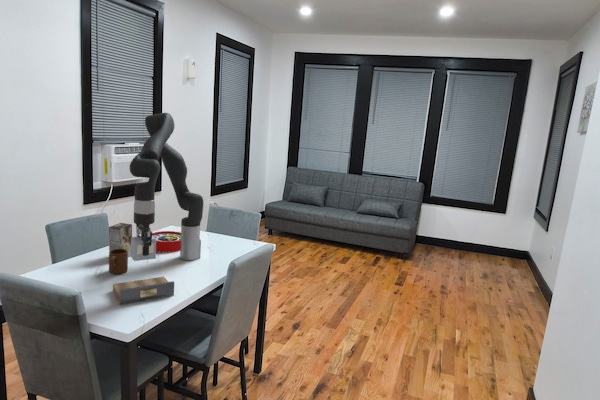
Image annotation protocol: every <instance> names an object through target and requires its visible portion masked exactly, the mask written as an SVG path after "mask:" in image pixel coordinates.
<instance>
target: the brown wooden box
mask: <svg viewBox="0 0 600 400" xmlns="http://www.w3.org/2000/svg"><path fill="white" fill-rule="evenodd" d="M112 292H113V295H114V296H115V298H116V301H117V302H118V303H119V305H120V306H122V305H127V304H132V303H140V302H144V301H149V300H155V299H159V298H160V299H161V298H165V297H167V298H168V297H173V296H174V295H175V281H174V280H173V281H168V279H166V277H165V276H164V275H163V276H158V277H150V278H144V279H137V280H131V281H123V282H118V283H112Z"/></svg>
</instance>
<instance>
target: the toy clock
mask: <svg viewBox="0 0 600 400" xmlns="http://www.w3.org/2000/svg"><path fill="white" fill-rule="evenodd" d="M152 235H153V236H154V237H155V238H156V253H175V252H180V245H181V231H175V230H173V231H172V230H171V231H170V230H168V231H167V230H165V231H164V230H163V231H161V230H160V231H155V232H152Z"/></svg>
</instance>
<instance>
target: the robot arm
mask: <svg viewBox="0 0 600 400" xmlns="http://www.w3.org/2000/svg"><path fill="white" fill-rule="evenodd" d="M144 125H145V128H146V131H147V133H148V134H149V136H150V137H149V138H148V139H147V140H146V141H145V142H144V144H143V146H142V148H141V149H140V150H141V151H139V153H138V154H136V155H135V156H134V157H133V158H132V159H131V162H130V164H129V173H130V174H131V175H132V176H133V177H136V178H144V179H145V178H147V179H148V181H146V182H141V183H137V184H136V185H135V186H134V202H133V223H134V224H135V225H136V226H135V227H136V230H135V231H136V236H135V237H141V240H142V246H143V256H147V255H149V246H151V242H152V233H153V231H152V230H151V227H150V225H152V224H154V223H155V220H156V219H155V216H156V215H155V214H156V211H155V210H156V203H155V194H156V193H155V188H156V183H157V180H158V177H159V175H160V172H161V165H160V162H159V159H161V161H162V163H163V167H164V169H165V171H166V174H167V176H168V177H169V178H168V179H169V181H170V184H171V185H172V188H173V190H174V193H175V197H176V200H177V203H178V205H179V208H181V210H183V211H186V212H188V213H187V214H188V215H187V217H186V216H185V217H183V218H182V219H181V221H180V223H181V225H180V233H181V245H180V251H179V259H181V260H184V261H195V260H198V259H201V253H202V252H201V248H202V240H201V237H200V236H201V222H202V220H203V214H204V198H203V196H202V194H199V193H195V192H191V191H190V189H189V187H188V185H187V181H186V179H187V175H188V167H187V164H186V162H185V160H184V157H183V156H182V154H181V153H180V152H179V151H177V150H176V149H174V148H173V146H171V145H169V144H168V140H169V139H170V137H171V136H172V135H173V133H174V130H175V120H174V119H173V116H172V114H171V113H168V112H160V113H155V114H150V115H146V117H145V118H144ZM143 237H144V238H143ZM146 241H148V243H146Z"/></svg>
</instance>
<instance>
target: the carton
mask: <svg viewBox="0 0 600 400" xmlns="http://www.w3.org/2000/svg"><path fill="white" fill-rule="evenodd" d="M143 238H144V237H143ZM146 243H148V241H146ZM156 256H157V251H156V238H155V237H154V236H153V235H152V242H151V246H149V255H147V256H143V246H142V240H141V237H136V236H132V237H131V256H130V258H131V259H132V260H133V262H136V261H138V262H139V261H146V260H153V259H155V260H156V259H157V257H156Z"/></svg>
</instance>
